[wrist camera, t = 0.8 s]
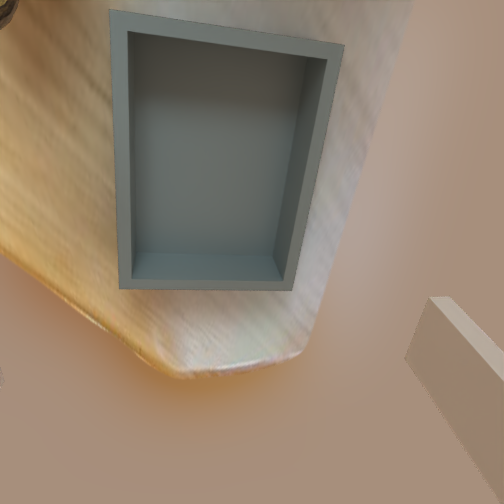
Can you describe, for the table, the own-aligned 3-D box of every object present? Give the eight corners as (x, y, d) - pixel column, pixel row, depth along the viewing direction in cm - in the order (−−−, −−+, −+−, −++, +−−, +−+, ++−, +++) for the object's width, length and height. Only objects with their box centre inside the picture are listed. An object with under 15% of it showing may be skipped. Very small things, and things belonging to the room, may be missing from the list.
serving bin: (119, 11, 28) (109, 9, 23) (319, 41, 31) (344, 44, 27) (125, 256, 38) (119, 289, 33) (278, 260, 41) (291, 290, 36)
